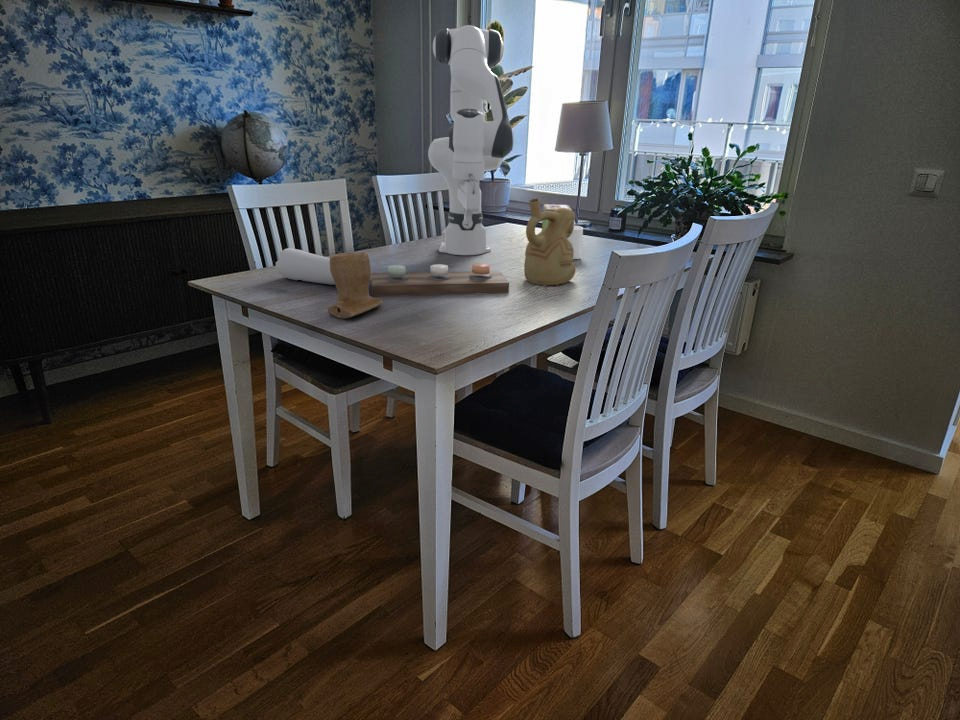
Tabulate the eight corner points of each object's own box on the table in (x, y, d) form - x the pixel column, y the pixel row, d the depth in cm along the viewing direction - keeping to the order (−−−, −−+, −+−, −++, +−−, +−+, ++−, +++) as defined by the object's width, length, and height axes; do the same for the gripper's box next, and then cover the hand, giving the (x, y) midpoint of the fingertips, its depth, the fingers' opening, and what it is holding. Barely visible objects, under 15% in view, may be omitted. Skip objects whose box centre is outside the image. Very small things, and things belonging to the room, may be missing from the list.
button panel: (372, 283, 183) (372, 272, 182) (499, 280, 189) (499, 269, 188) (372, 296, 171) (371, 284, 169) (508, 292, 176) (509, 281, 175)
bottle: (269, 271, 181) (353, 288, 169) (279, 242, 182) (364, 257, 171) (288, 282, 189) (370, 299, 178) (298, 254, 191) (380, 269, 179)
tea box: (569, 250, 233) (572, 209, 227) (542, 249, 233) (545, 208, 227) (565, 242, 247) (568, 203, 241) (540, 241, 247) (542, 203, 241)
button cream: (429, 271, 180) (429, 264, 179) (447, 270, 181) (447, 264, 180) (431, 275, 176) (431, 268, 175) (448, 275, 176) (449, 268, 176)
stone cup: (351, 300, 167) (348, 244, 161) (389, 307, 162) (387, 249, 156) (314, 315, 154) (308, 255, 148) (353, 323, 149) (349, 261, 144)
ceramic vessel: (588, 281, 190) (595, 197, 181) (545, 292, 178) (551, 202, 168) (546, 271, 202) (551, 191, 192) (503, 280, 189) (506, 196, 180)
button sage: (387, 272, 178) (387, 265, 178) (405, 271, 179) (405, 264, 178) (388, 276, 174) (387, 269, 173) (406, 276, 175) (406, 269, 174)
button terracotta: (470, 270, 182) (471, 263, 181) (487, 270, 183) (488, 263, 182) (473, 274, 177) (473, 267, 177) (490, 274, 178) (491, 267, 177)
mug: (549, 260, 215) (550, 229, 211) (560, 254, 225) (562, 224, 221) (572, 263, 212) (575, 232, 208) (583, 257, 222) (586, 226, 218)
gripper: (486, 177, 166) (484, 229, 171) (473, 167, 184) (473, 214, 190) (462, 177, 165) (462, 229, 170) (452, 167, 183) (452, 214, 189)
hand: (467, 221), depth 180 cm, fingers closed
